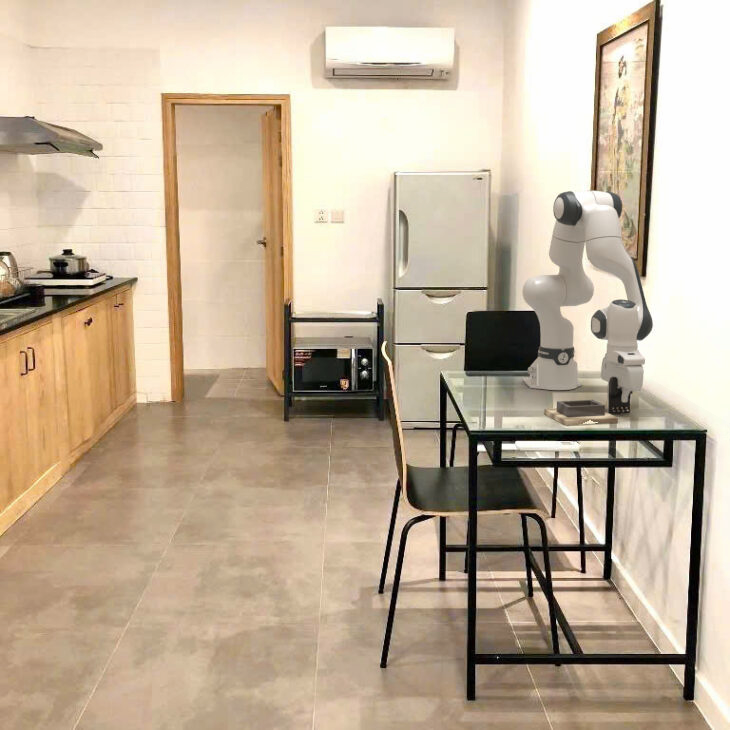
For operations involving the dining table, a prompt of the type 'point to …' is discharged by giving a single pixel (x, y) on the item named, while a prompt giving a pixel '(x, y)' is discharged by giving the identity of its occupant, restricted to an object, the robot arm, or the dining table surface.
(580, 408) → the dock
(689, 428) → the dining table surface
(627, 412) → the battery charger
